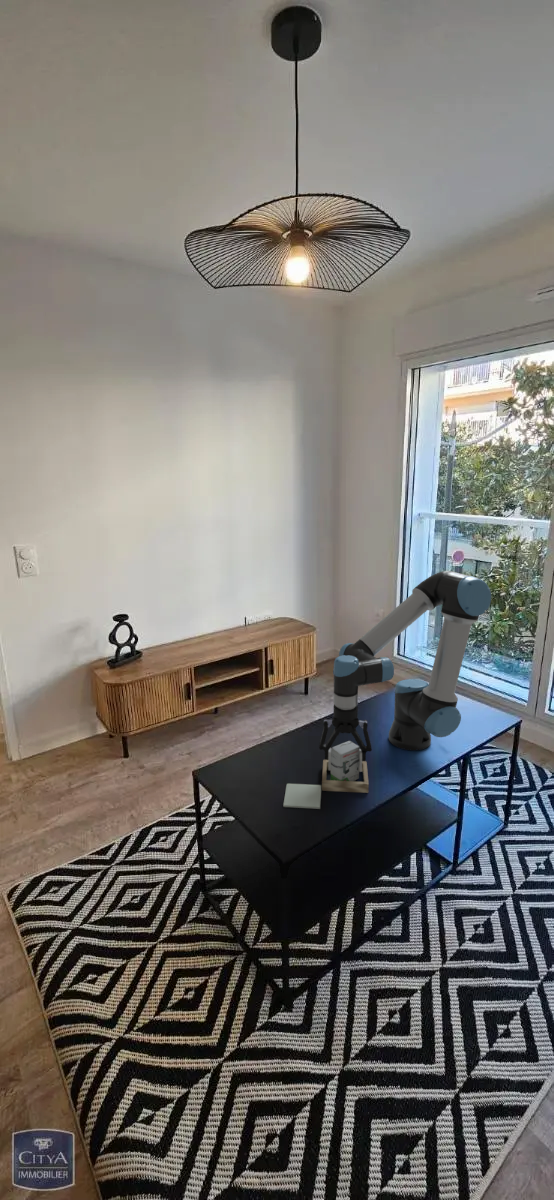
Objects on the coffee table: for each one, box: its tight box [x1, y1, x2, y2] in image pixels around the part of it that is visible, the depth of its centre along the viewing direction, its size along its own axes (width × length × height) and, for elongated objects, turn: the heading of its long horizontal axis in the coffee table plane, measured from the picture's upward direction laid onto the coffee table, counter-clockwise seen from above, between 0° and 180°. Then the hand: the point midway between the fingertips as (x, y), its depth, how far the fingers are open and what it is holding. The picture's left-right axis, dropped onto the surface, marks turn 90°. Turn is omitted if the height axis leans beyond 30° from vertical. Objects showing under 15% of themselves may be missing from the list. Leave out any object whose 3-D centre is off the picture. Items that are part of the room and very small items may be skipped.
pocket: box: [321, 759, 370, 794], centre depth 166 cm, size 14×13×3 cm
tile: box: [282, 783, 322, 810], centre depth 159 cm, size 11×11×1 cm
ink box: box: [330, 740, 360, 781], centre depth 165 cm, size 9×5×12 cm, turn 126°
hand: (345, 768), depth 166 cm, fingers closed on ink box, 9 cm apart
